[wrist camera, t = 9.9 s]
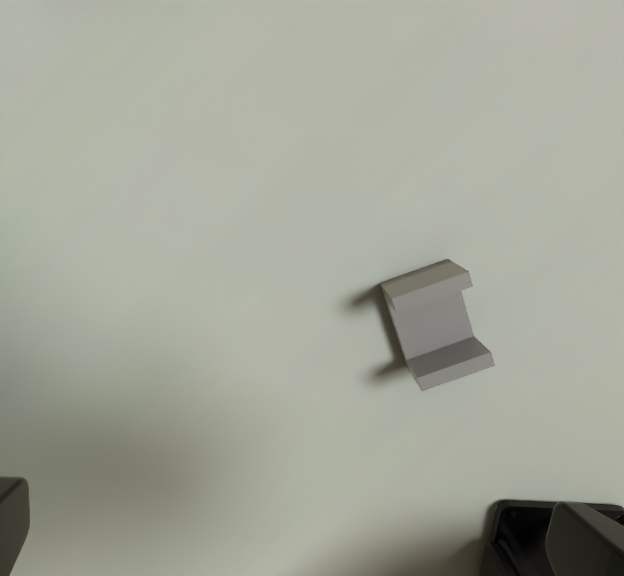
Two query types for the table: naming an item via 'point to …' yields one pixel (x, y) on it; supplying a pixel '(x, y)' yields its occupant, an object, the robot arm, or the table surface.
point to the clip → (435, 324)
